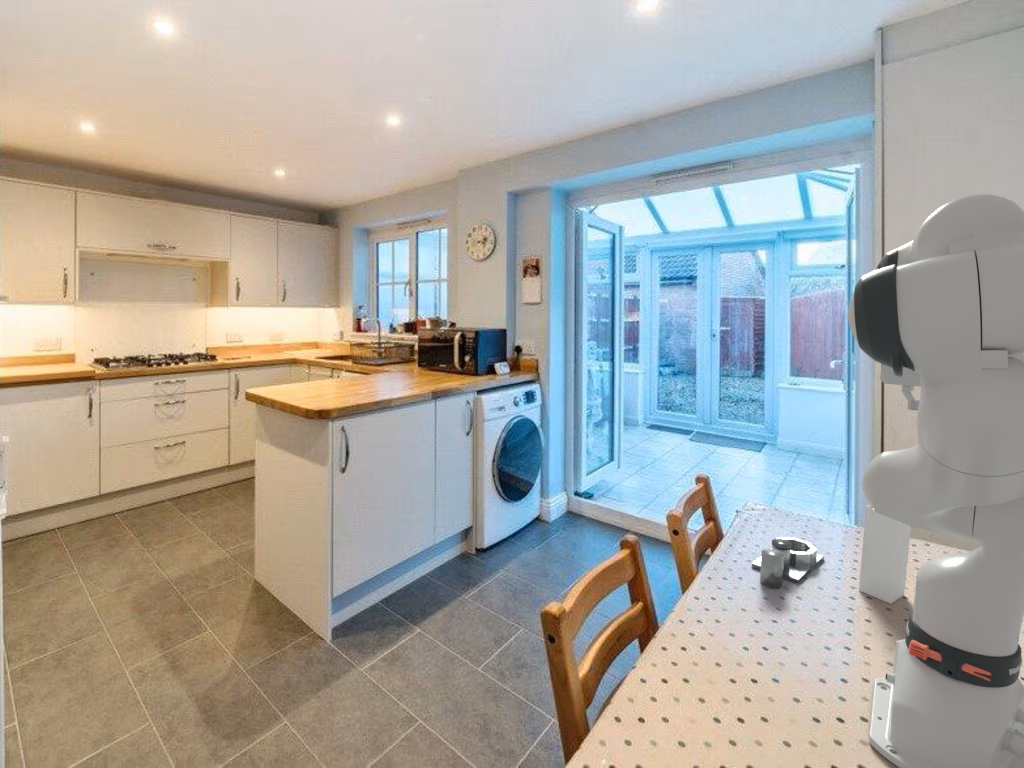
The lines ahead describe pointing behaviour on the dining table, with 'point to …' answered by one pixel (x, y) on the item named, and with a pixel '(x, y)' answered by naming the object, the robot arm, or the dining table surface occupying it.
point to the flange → (795, 558)
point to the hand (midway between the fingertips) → (945, 413)
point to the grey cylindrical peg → (772, 568)
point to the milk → (884, 556)
